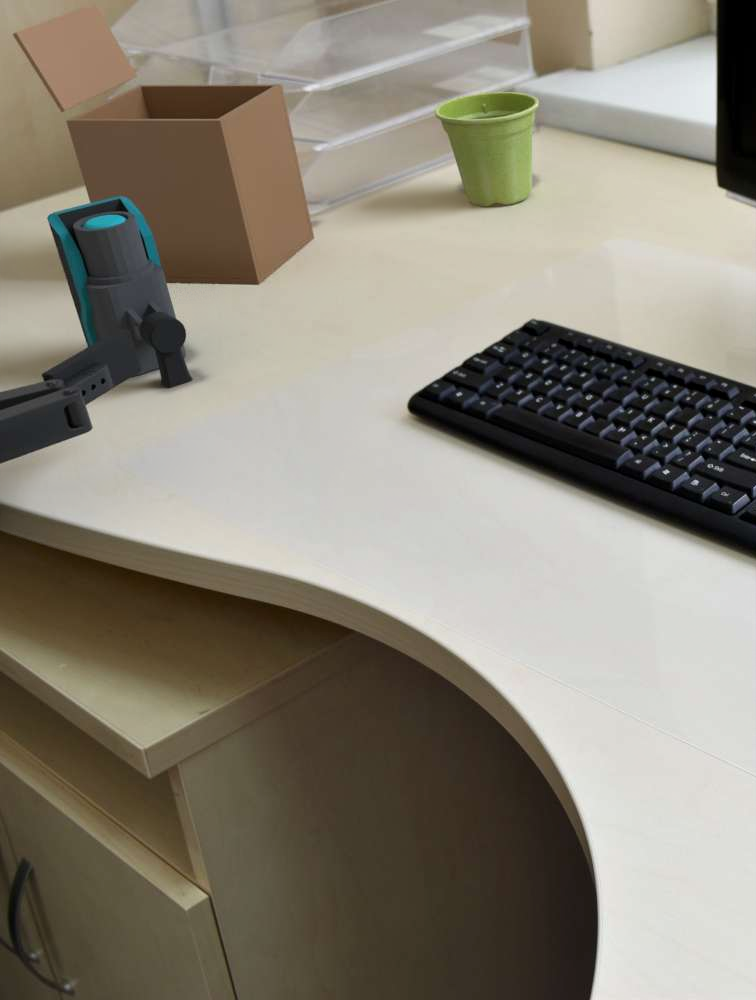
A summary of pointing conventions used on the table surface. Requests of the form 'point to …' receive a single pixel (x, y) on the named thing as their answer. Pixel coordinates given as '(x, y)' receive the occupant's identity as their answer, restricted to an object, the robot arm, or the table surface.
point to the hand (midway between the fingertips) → (43, 339)
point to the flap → (75, 56)
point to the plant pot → (492, 144)
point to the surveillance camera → (120, 283)
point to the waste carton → (201, 175)
